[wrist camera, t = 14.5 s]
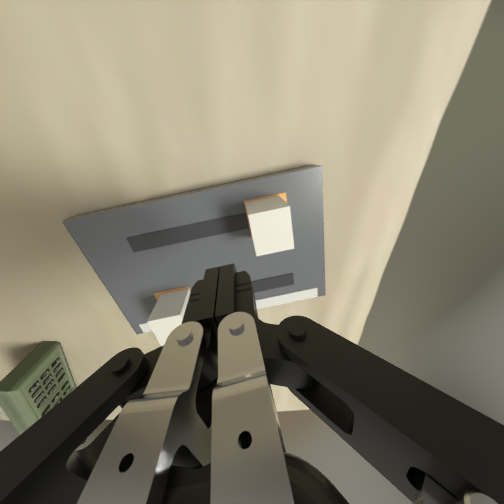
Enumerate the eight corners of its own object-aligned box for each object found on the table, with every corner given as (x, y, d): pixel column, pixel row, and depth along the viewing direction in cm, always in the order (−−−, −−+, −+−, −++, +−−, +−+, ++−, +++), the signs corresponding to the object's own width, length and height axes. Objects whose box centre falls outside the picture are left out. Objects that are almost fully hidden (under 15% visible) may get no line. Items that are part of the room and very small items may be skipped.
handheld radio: (65, 340, 27) (97, 431, 38) (39, 338, 27) (78, 431, 38) (16, 392, 21) (70, 483, 32) (-19, 391, 21) (47, 483, 32)
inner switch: (245, 202, 19) (247, 215, 15) (279, 195, 18) (289, 206, 15) (252, 237, 20) (256, 256, 17) (283, 231, 20) (294, 248, 17)
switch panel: (77, 215, 20) (61, 222, 18) (314, 164, 20) (322, 166, 18) (143, 322, 27) (136, 335, 25) (319, 285, 27) (325, 295, 25)
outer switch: (160, 294, 22) (146, 321, 19) (188, 288, 22) (180, 314, 19) (172, 317, 24) (162, 346, 20) (198, 312, 24) (192, 340, 20)
